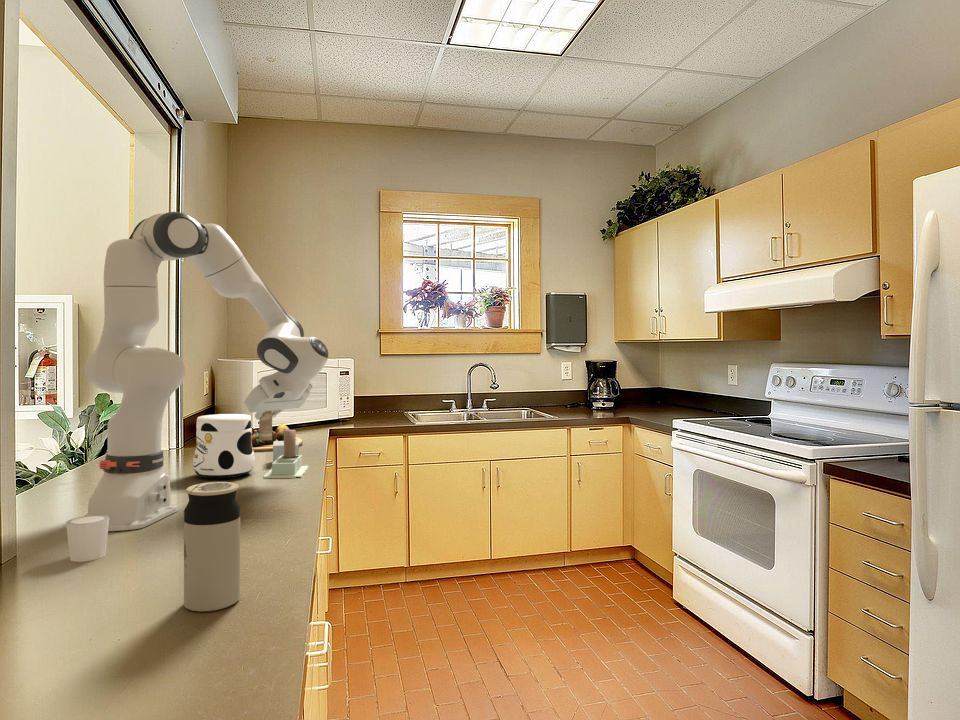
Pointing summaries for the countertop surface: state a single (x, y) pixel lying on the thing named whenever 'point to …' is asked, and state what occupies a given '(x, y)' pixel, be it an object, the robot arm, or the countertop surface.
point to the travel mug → (211, 547)
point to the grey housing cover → (281, 449)
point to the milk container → (223, 446)
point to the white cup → (87, 537)
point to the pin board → (287, 460)
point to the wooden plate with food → (268, 444)
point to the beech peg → (265, 426)
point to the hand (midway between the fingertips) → (264, 416)
